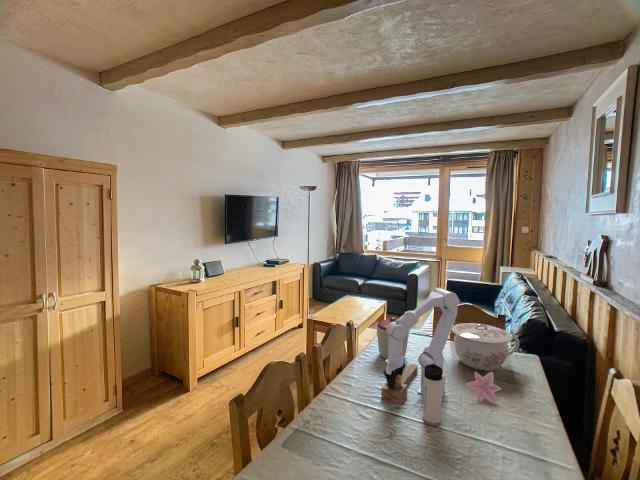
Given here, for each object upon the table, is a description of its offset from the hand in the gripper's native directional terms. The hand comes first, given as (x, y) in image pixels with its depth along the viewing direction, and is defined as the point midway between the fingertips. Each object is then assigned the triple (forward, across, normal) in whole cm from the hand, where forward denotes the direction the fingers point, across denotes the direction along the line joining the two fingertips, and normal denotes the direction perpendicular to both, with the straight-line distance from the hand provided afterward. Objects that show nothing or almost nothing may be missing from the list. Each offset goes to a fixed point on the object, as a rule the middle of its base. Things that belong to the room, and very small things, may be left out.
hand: (394, 384), depth 134 cm
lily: (+6, -20, +31) cm, 37 cm away
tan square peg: (+4, 0, 0) cm, 4 cm away
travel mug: (+6, +7, +17) cm, 19 cm away
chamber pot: (+6, -52, +25) cm, 58 cm away
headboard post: (+6, -11, 0) cm, 12 cm away
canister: (+6, -36, -15) cm, 39 cm away
